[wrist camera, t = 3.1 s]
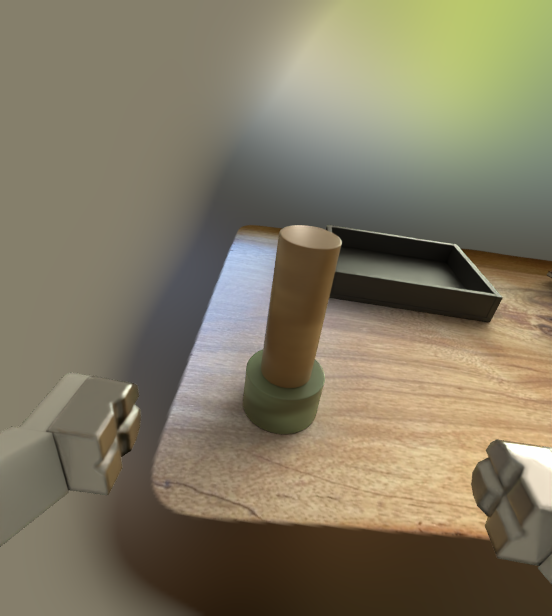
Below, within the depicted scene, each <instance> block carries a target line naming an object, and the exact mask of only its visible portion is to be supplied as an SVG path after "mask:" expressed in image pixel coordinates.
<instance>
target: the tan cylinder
mask: <svg viewBox="0 0 552 616" xmlns="http://www.w3.org/2000/svg"><path fill="white" fill-rule="evenodd" d="M341 244H342V242H341V239H340V238H339V237H338V236H337V235H335V234H333V233H332V232H329V231H327V230H324V229H321V228H316V227H311V226H301V225H299V226H289V227H285V228H283V229H281V231H280V232H279V239H278V246H277V253H276V261H275V268H274V275H273V282H272V290H271V297H270V304H269V312H268V319H267V326H266V334H265V341H264V348H263V350H260V351H258V352H257V353H255V354H254V355H253V356H252V357H251V358H250V359H249V361H248V363H247V368H246V376H245V385H244V394H243V408H244V411H245V413H246V415H247V417H248V418H249V419H250V420H251V421H252V422H253V423H254V424H255V425H257V426H258V427H260V428H261V429H263V430H266V431H268V432H272V433H276V434H292V433H296V432H299V431H302V430H303V429H305V428H307V427H308V426H309V425H310V424H311V423H312V422H313V420H314V418H315V416H316V412H317V409H318V405H319V401H320V397H321V393H322V389H323V386H324V382H325V375H324V371H323V369H322V367H321V365H320V364H319V363H318V362H317V361H316V360H315V356H316V352H317V348H318V343H319V339H320V335H321V330H322V326H323V322H324V317H325V313H326V309H327V305H328V300H329V296H330V292H331V287H332V283H333V279H334V274H335V270H336V266H337V261H338V257H339V253H340V249H341Z"/></svg>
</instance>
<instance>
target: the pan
mask: <svg viewBox="0 0 552 616" xmlns="http://www.w3.org/2000/svg"><path fill="white" fill-rule="evenodd" d="M326 230H327V231H329V232H332V233H333V234H335V235H337V236H338V237H339V238H340V239H341V242H342V244H341V249H340V253H339V257H338V261H337V266H336V270H335V274H334V279H333V283H332V287H331V292H330V296H329V297H330V298H337V299H343V300H350V301H356V302H363V303H369V304H375V305H382V306H388V307H395V308H401V309H408V310H414V311H420V312H427V313H433V314H440V315H446V316H453V317H459V318H466V319H472V320H478V321H485V322H490V321H491V319H492V317H493V315H494V313H495V312H496V310H497V308H498V306H499V304H500V302H501V300H502V298H503V297H502V296H501V295H500V294H499V293H498V292H497V290H496V289H495V288H494V287H493V286H492V285H491V284H490V282H489V281H488V280H487V279H486V278H485V277H484V275H483V274H482V273H481V272H480V271H479V270H478V269H477V267H476V266H475V265H474V264H473V263H472V262H471V261H470V259H469V258H468V257H467V256H466V255H465V254H464V252H463V251H462V250H461V249H460V248H459V247H458V246H457V245H456V244H449V243H442V242H436V241H430V240H423V239H417V238H410V237H404V236H397V235H390V234H384V233H377V232H370V231H364V230H357V229H351V228H344V227H338V226H331V225H327V227H326Z"/></svg>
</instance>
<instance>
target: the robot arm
mask: <svg viewBox="0 0 552 616" xmlns="http://www.w3.org/2000/svg"><path fill="white" fill-rule="evenodd" d="M138 397H139V392H138V386H137V385H136V384H134V383H129V382H123V381H118V380H113V379H107V378H102V377H95V376H88V375H83V374H77V373H68V374H66V375H64V376H63V377H62V378H61V380H60V381H59V382H58V383H57V384H56V385H55V386H54V387H53V389H52V390H51V391H50V392H49V393H48V394H47V395H46V397H45V398H44V399H43V400H42V401H41V402H40V403H39V405H38V406H37V407H36V408H35V409H34V410H33V411H32V413H31V414H30V415H29V416H28V417H27V418H26V419H25V421H24V422H23V423H22V424H21V425H20V426H19V427H12V426H11V427H9V428H7V429H5V430H3V431H1V432H0V547H1V546H2V545H3V544H5V543H6V542H7V541H8V540H10V539H11V538H12V537H13V536H14V535H16V534H17V533H18V532H20V531H21V530H22V529H23V528H25V527H26V526H27V525H28V524H29V523H31V522H32V521H34V520H35V519H36V518H37V517H39V516H40V515H41V514H42V513H44V512H45V511H46V510H47V509H49V508H50V507H51V506H52V505H54V504H55V503H56V502H57V501H59V500H60V499H61V498H62V497H64V496H65V495H66V494H67V493H68V490H72V491H79V492H87V493H95V494H102V495H109V493H110V491H111V489H112V487H113V485H114V483H115V481H116V479H117V477H118V475H119V473H120V471H121V469H122V462H121V457H122V456H124V455H125V454H127V453H128V452H130V451H131V450H132V448H133V445H134V443H135V441H136V439H137V436H138V432H139V429H140V423H141V422H140V421H141V410H140V409H139V408H138V407H137V405H135V402H136V401H137V399H138ZM486 452H487V454H488V457H489V458H487V459H485V460H483V461H480V462H478V464H477V465H476V467H475V469H474V471H473V473H472V483H471V485H472V491H473V496H474V498H475V501H476V504H477V506H478V507H479V508H480V509H481V510H482V511H483V512H484V513H485V514H486V515H487V516H488V518H487V521H486V524H485V528H486V530H487V533H488V535H489V538H490V540H491V543H492V546H493V548H494V551H495V553H496V556H497V558H500V559H505V560H510V561H516V562H521V563H526V564H531V565H537V566H539V567H538V569H539V570H540V571H541V572H542V573H543V575H544V576H545V577H546V578H547V579H548V581H549V582H550V583H551V584H552V448H551V447H544V446H542V447H541V446H538V445H531V444H524V443H517V442H510V441H504V440H495V441H493V442H491V443H490V445H489V446H488V448H487V449H486Z"/></svg>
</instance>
